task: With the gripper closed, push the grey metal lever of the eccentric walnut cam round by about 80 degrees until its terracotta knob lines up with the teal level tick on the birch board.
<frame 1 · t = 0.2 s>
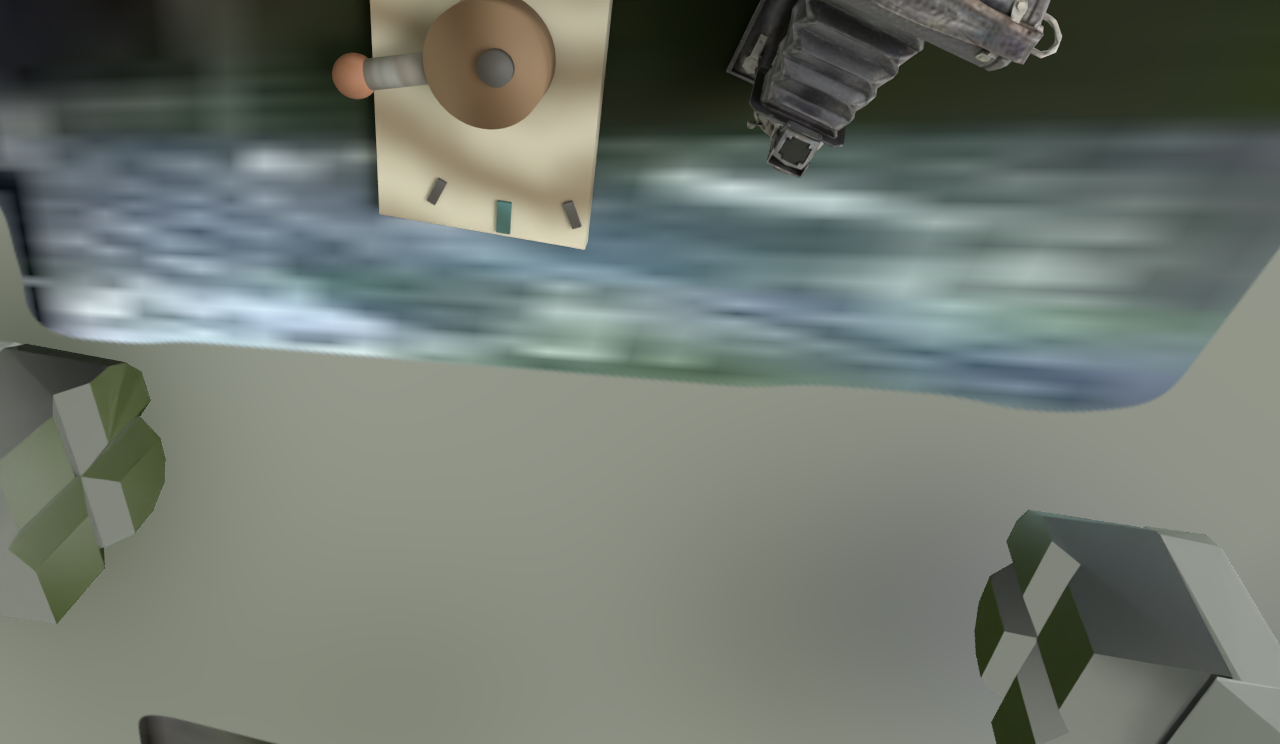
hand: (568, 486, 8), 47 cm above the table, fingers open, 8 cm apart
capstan: (438, 68, 51), point 3 cm above the table, hinge at 0.0°
board: (492, 42, 53), on the table
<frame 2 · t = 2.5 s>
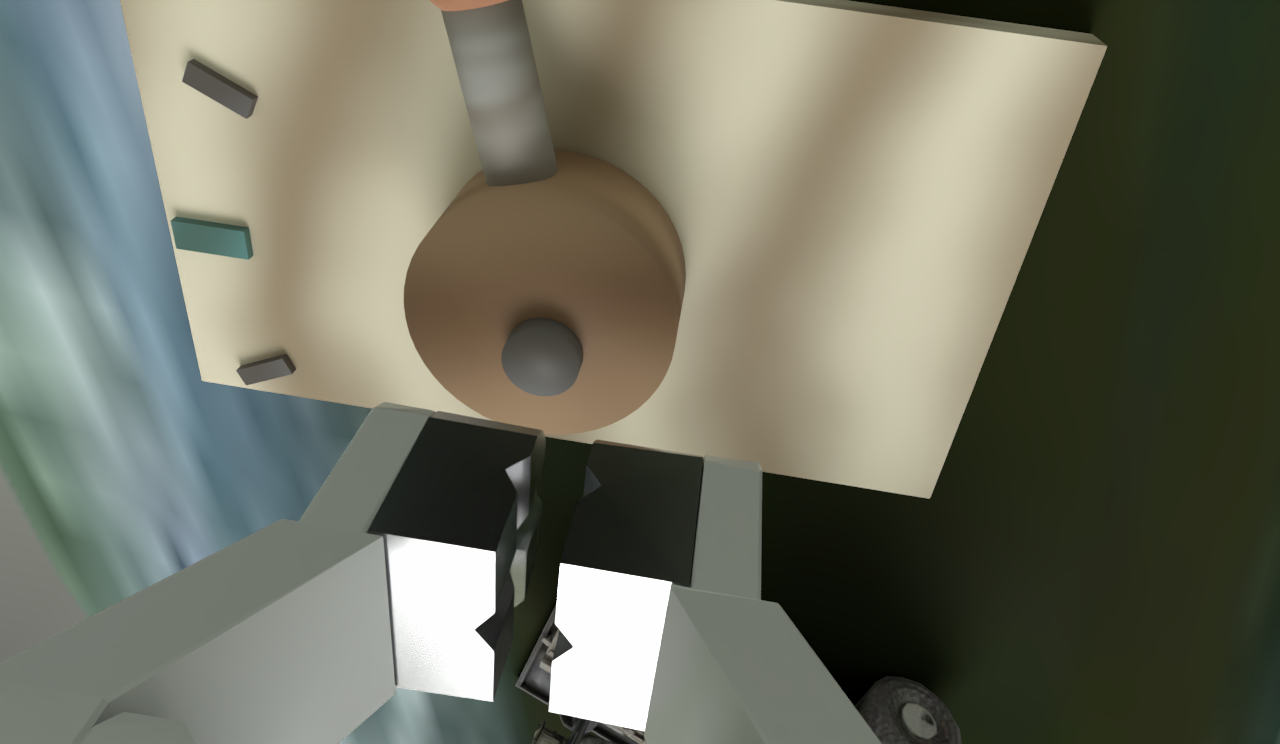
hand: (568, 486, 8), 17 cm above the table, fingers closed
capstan: (521, 191, 22), point 3 cm above the table, hinge at 0.0°
board: (580, 226, 26), on the table
camera: (712, 692, 37), on the table
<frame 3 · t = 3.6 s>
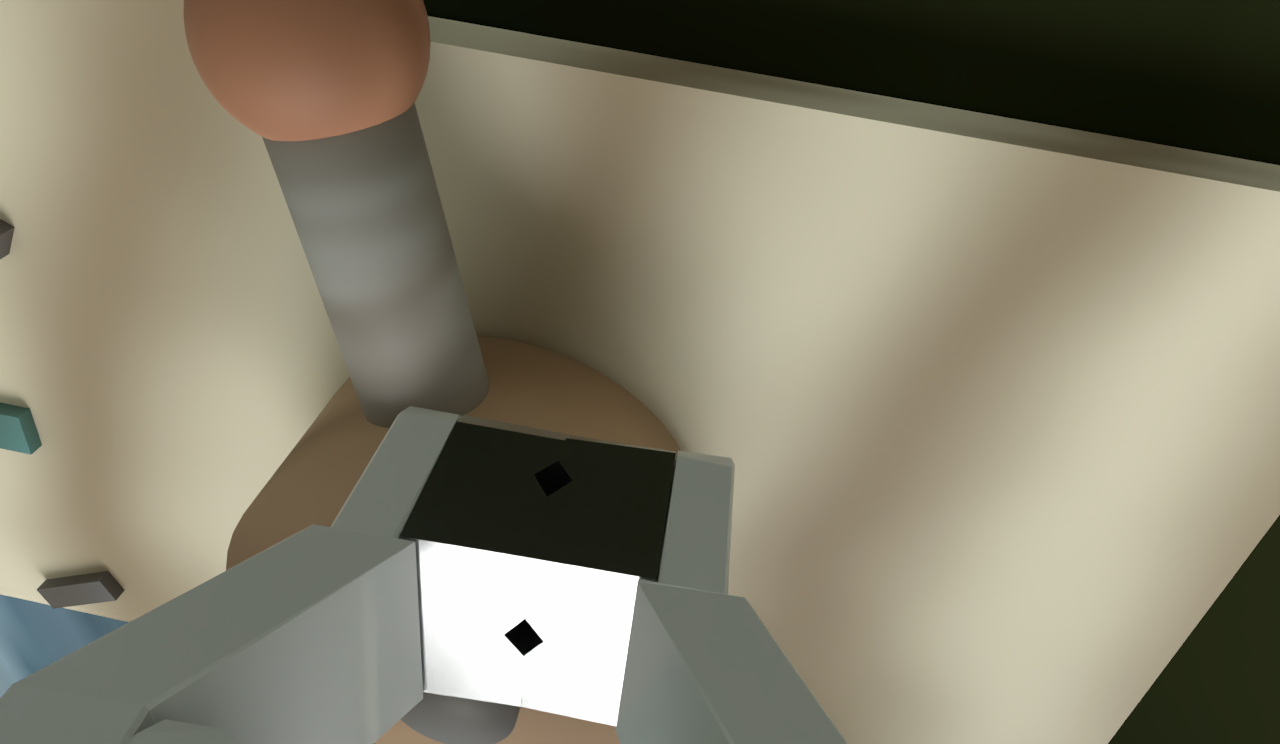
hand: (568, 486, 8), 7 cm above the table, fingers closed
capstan: (425, 425, 13), point 3 cm above the table, hinge at 0.0°
board: (539, 424, 16), on the table
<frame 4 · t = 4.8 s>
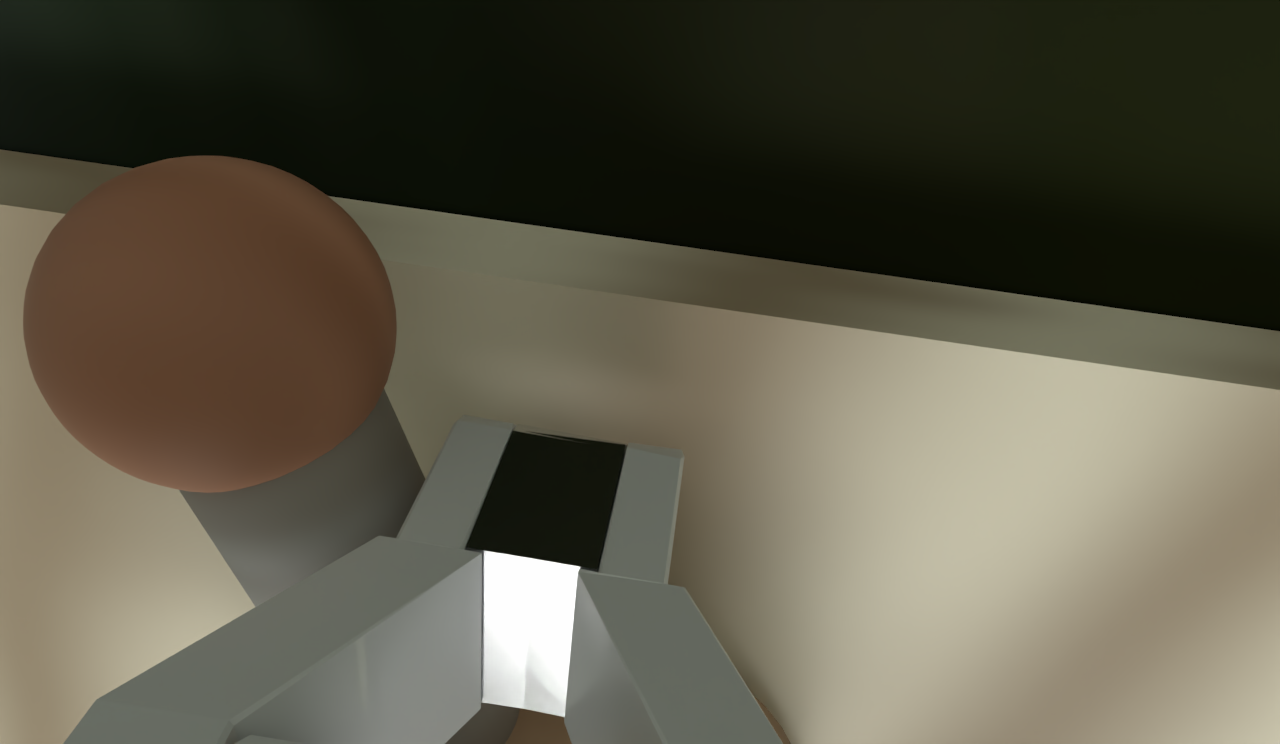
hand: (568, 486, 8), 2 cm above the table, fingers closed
board: (590, 655, 13), on the table
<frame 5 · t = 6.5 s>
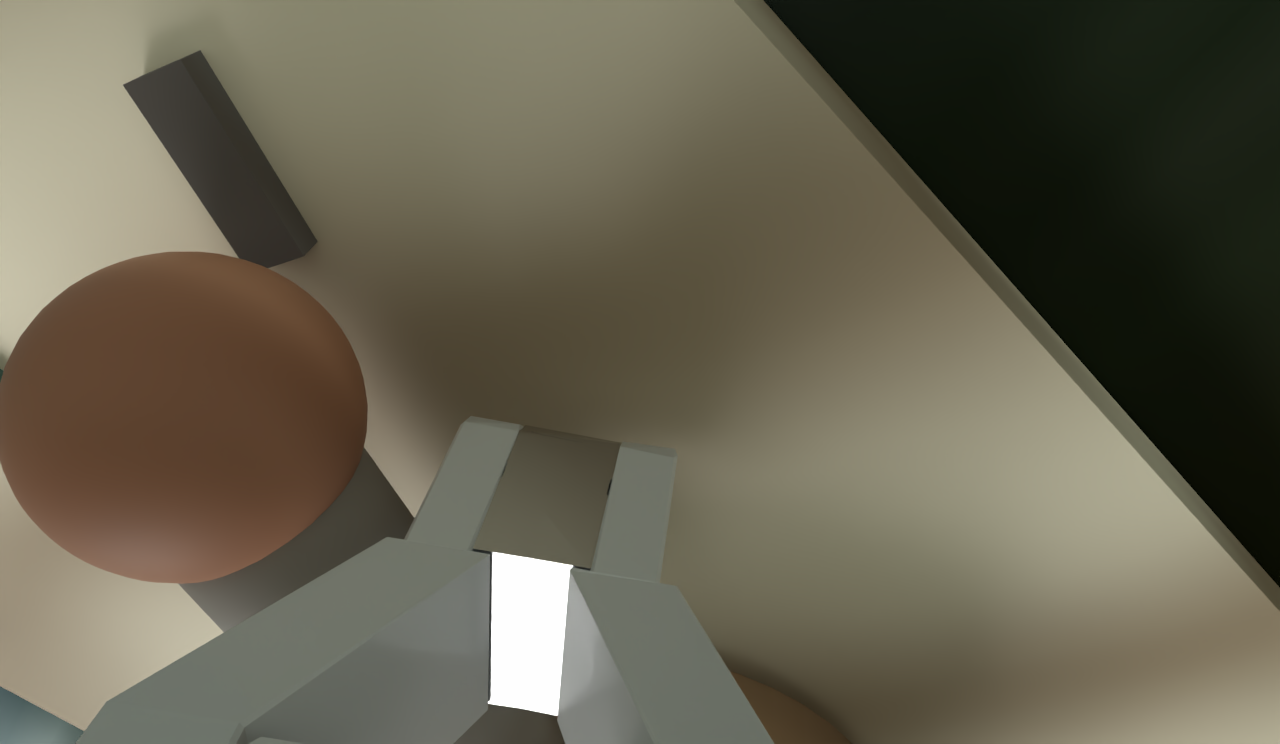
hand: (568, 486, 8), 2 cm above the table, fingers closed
board: (730, 712, 13), on the table
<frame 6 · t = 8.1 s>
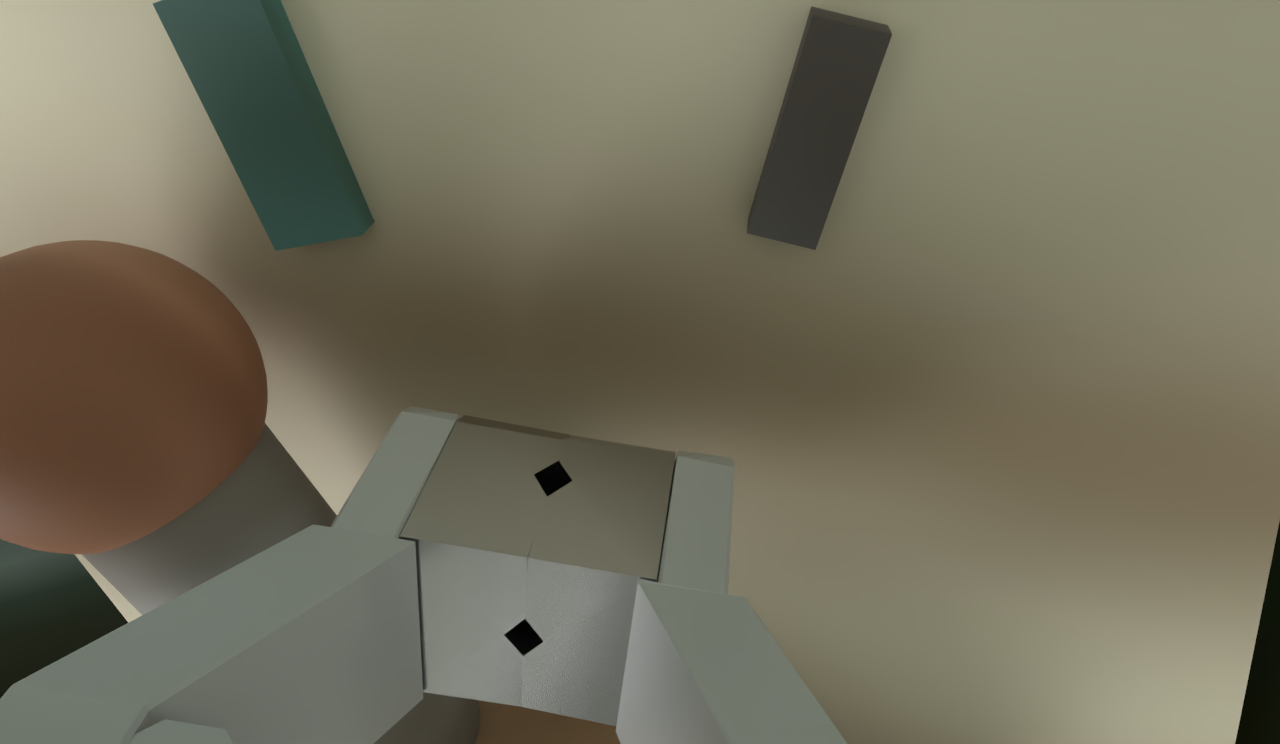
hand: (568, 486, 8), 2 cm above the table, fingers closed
board: (695, 729, 14), on the table
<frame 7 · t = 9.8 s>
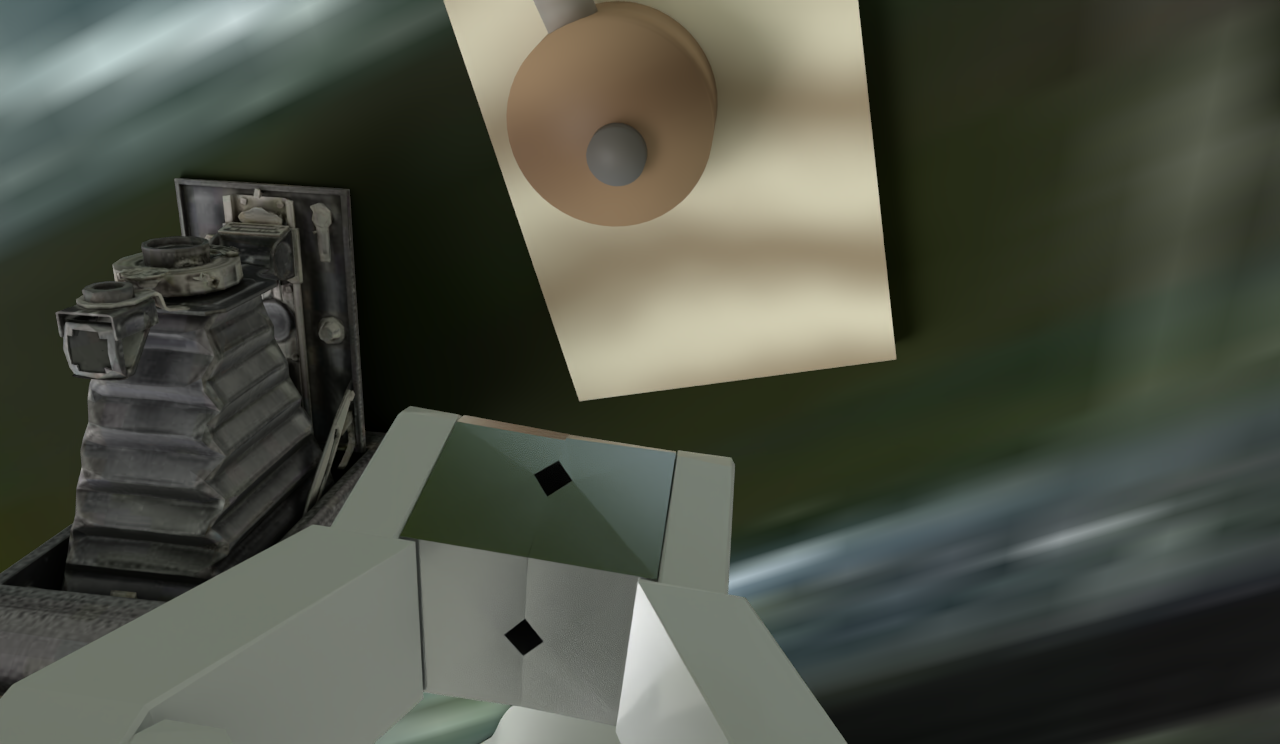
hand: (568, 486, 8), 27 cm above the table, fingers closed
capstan: (575, 32, 29), point 3 cm above the table, hinge at 84.8°
board: (673, 103, 33), on the table
camera: (288, 333, 42), on the table
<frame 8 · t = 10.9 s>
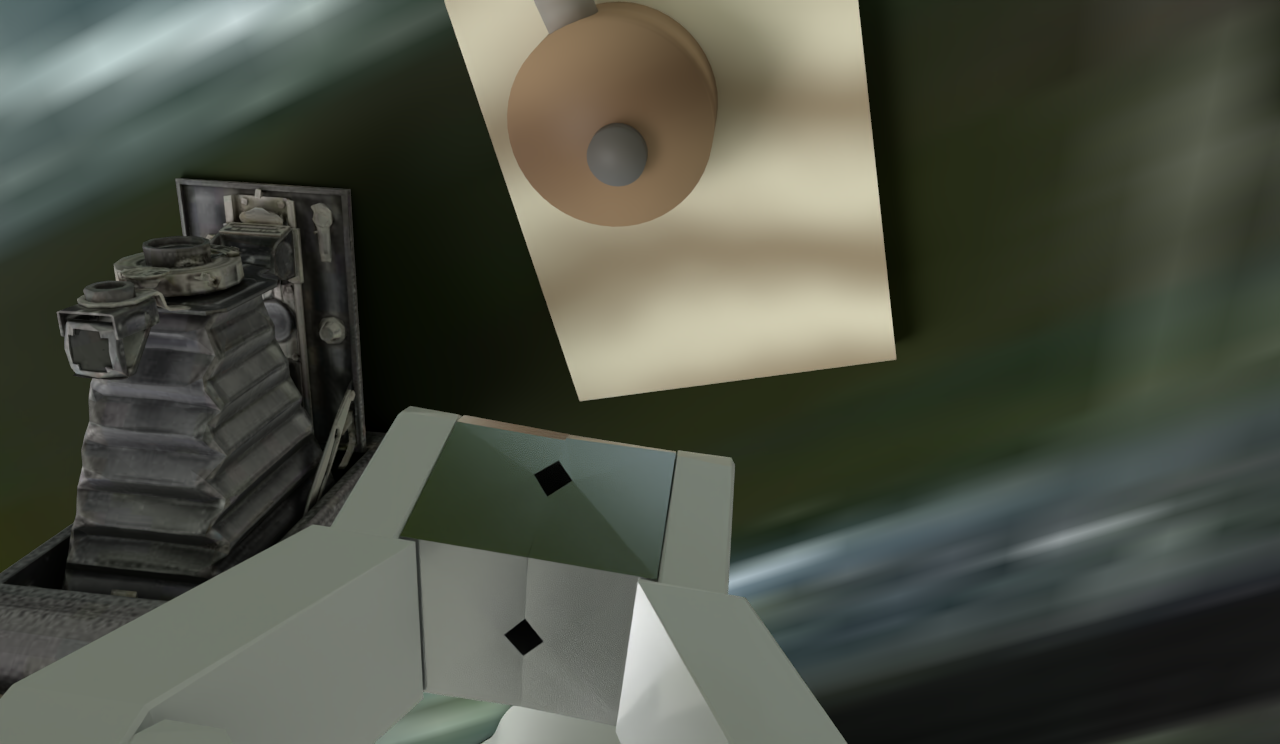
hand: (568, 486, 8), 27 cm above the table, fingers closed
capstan: (575, 32, 29), point 3 cm above the table, hinge at 84.8°
board: (673, 103, 33), on the table
camera: (288, 333, 42), on the table
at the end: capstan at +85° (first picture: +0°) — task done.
